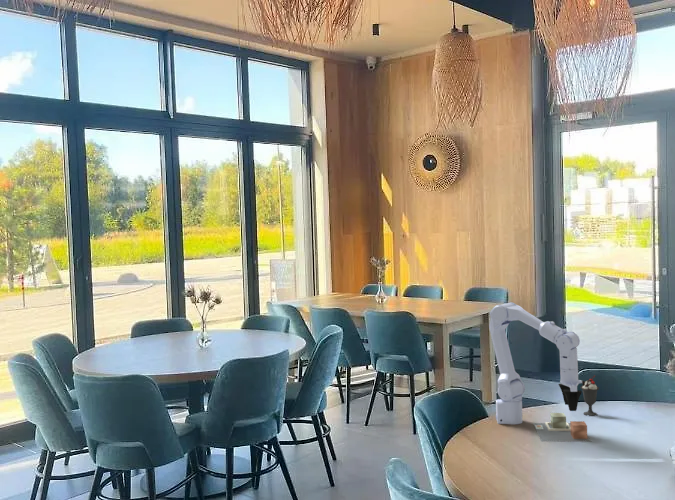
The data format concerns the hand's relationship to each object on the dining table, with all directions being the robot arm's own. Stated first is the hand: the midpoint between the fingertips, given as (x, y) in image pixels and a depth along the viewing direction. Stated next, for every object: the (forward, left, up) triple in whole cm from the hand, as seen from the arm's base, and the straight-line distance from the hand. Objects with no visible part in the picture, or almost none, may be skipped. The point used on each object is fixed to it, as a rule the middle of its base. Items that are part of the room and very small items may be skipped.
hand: (570, 407), depth 224 cm
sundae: (+12, +25, -10) cm, 30 cm away
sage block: (-3, +6, -9) cm, 11 cm away
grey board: (-3, +1, -10) cm, 10 cm away
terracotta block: (+2, -4, -9) cm, 10 cm away
